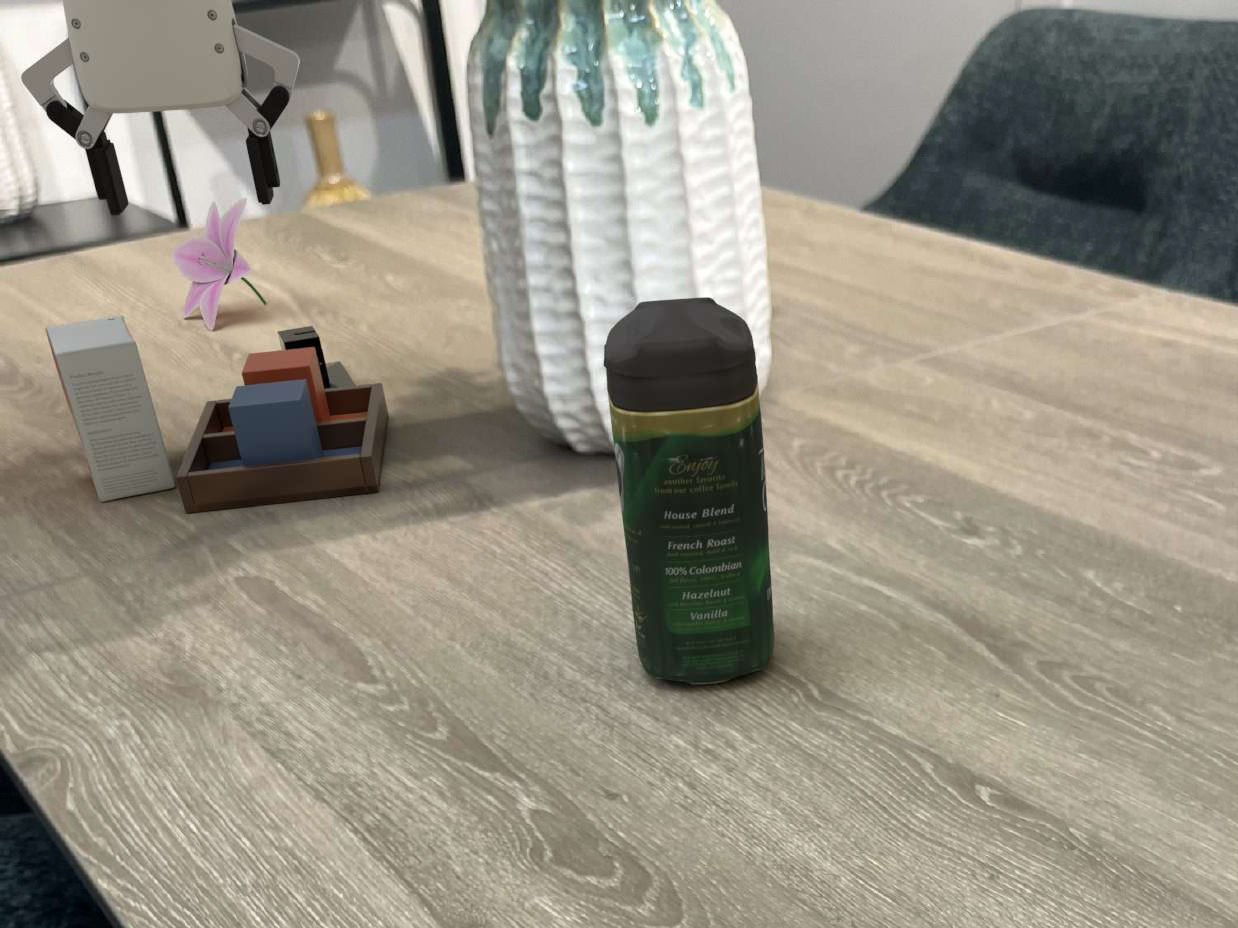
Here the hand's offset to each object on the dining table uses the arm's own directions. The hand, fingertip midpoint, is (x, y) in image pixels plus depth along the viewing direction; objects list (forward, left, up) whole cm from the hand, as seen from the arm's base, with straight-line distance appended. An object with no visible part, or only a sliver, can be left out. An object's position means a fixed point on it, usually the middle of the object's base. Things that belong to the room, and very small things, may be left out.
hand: (193, 205), depth 115 cm
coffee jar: (+29, -39, -19) cm, 52 cm away
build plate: (+2, +21, -19) cm, 28 cm away
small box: (-10, +3, -19) cm, 21 cm away
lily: (-8, +49, -19) cm, 53 cm away
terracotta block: (+2, +7, -18) cm, 19 cm away
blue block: (+2, -1, -18) cm, 18 cm away
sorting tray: (+2, +3, -19) cm, 19 cm away
